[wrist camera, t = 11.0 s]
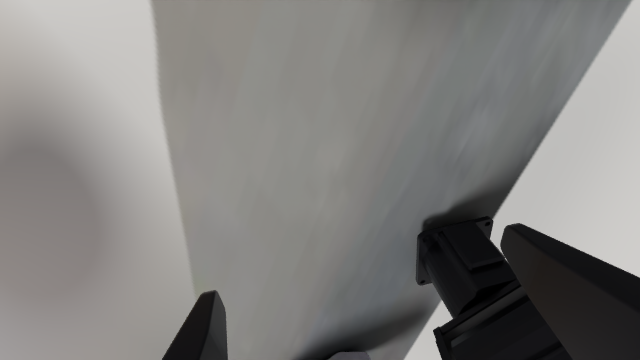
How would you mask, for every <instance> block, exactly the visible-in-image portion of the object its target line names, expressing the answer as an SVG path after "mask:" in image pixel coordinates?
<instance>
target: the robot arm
mask: <svg viewBox="0 0 640 360" xmlns="http://www.w3.org/2000/svg"><path fill="white" fill-rule="evenodd" d="M492 226H493V220H492V219H491V218H490V217H488V216H486V217H482V218H478V219H473V220H469V221H465V222H461V223H457V224H453V225H449V226H445V227H441V228H437V229H433V230H429V231H425V232H422V233H420V234H419V235H418V237H417V260H416V282H417V283H418V285H425V284H429V283H433V285H434V287H435V288H436V290H437V292H438V294H439V295H440V297H441V299H442V300H443V302H444V304H445V305H446V307H447V309H448V311H449V312H450V314H451V316H452V318H453V319H452V320H451V321H449V322H448V323H446V324H444V325H443V326H441V327H437V328H436V329H434V330H433V332H434V335H435V338H436V344H437V347H438V349H439V352H440V355H441V358H442V360H640V278H639V277H637V276H635V275H633V274H631V273H629V272H626V271H624V270H622V269H620V268H617V267H615V266H613V265H611V264H609V263H607V262H604V261H602V260H600V259H598V258H595V257H593V256H591V255H589V254H587V253H585V252H582V251H580V250H578V249H576V248H574V247H571V246H569V245H567V244H565V243H563V242H560V241H558V240H556V239H554V238H552V237H549V236H547V235H545V234H543V233H541V232H538V231H536V230H534V229H532V228H530V227H527V226H525V225H523V224H520V223H517V224H512V225H508V226H506V227H505V229H504V233H503V236H502V240H501V244H500V246H501V250H502V252H503V254H504V255H503V254H502V253H501V252H500V251H499V249H498V248H497V247H496V246H495V245H494V244H493V243H492V242H491V240H490V236H491V231H492ZM504 256H505V257H504ZM505 258H506V259H507V261H508V262H507V261H506V259H505ZM162 360H228V354H227V331H226V312H225V307H224V305H223V303H222V300H221V298H220V296H219V294H218V292H217V291H216V290H213V291H208V292H204V293H202V294H201V295H200V297H199V298H198V300H197V302H196V303H195V305H194V307H193V308H192V310H191V312H190V313H189V315H188V317H187V318H186V320H185V322H184V323H183V325H182V327H181V328H180V330H179V332H178V333H177V335H176V337H175V338H174V340H173V342H172V343H171V345H170V347H169V348H168V350H167V352H166V353H165V355H164V357H163V358H162Z"/></svg>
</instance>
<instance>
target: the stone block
mask: <svg viewBox="0 0 640 360" xmlns="http://www.w3.org/2000/svg"><path fill="white" fill-rule="evenodd" d="M328 360H371V359H370V357H369V355H368V354H367V353H365V352H339V353H336V354H335V355H333V356H332V357H331V358H330V359H328Z"/></svg>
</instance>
